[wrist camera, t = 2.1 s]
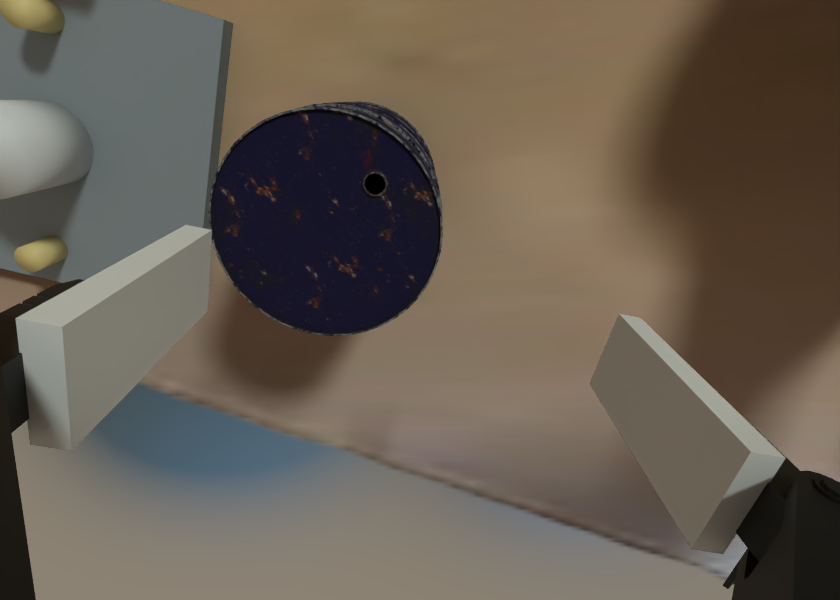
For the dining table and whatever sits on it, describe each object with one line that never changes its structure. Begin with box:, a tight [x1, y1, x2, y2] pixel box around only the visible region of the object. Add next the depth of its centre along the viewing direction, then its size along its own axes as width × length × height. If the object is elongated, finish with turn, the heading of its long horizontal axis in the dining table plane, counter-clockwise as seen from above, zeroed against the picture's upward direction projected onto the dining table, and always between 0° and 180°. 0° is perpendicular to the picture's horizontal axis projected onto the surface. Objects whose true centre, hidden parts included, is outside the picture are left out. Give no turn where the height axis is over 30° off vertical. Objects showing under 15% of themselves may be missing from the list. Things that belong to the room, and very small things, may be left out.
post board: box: [0, 0, 233, 283], centre depth 29 cm, size 20×20×7 cm
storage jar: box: [209, 102, 443, 336], centre depth 27 cm, size 10×10×15 cm
